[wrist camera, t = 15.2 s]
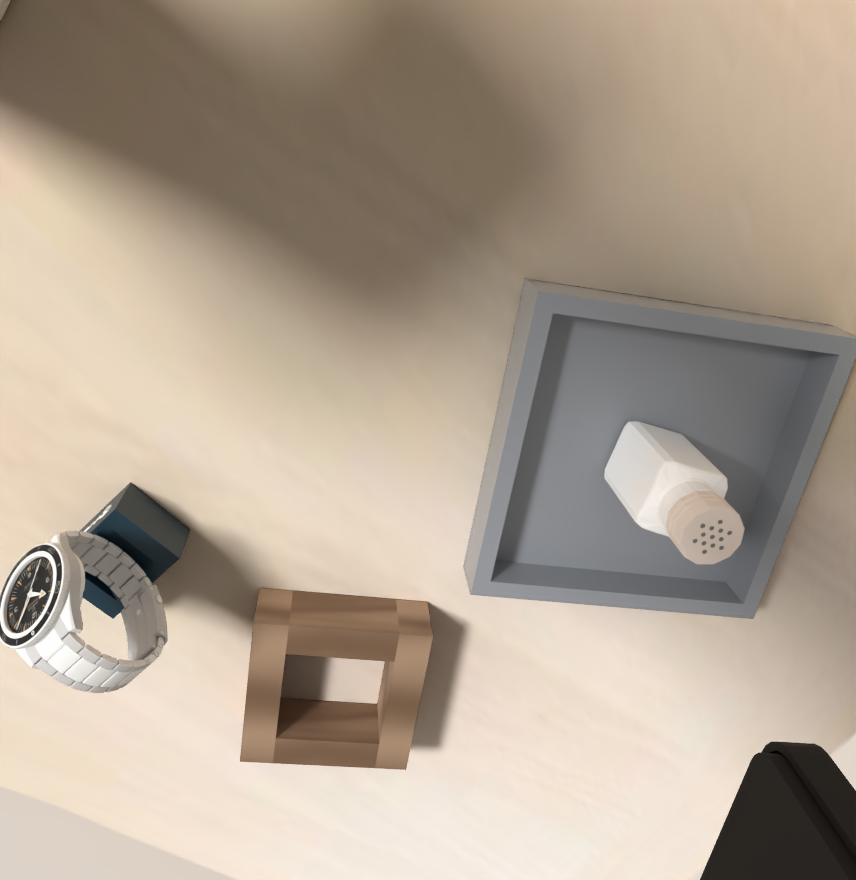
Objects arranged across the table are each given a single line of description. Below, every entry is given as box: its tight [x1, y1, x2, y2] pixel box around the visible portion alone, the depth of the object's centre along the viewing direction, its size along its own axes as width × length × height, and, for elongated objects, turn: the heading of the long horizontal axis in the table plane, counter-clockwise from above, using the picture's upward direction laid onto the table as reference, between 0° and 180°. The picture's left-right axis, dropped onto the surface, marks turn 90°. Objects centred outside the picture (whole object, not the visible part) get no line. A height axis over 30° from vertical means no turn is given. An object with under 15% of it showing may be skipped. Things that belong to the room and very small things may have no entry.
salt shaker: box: [604, 421, 745, 564], centre depth 41 cm, size 4×4×10 cm
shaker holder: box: [240, 588, 433, 770], centre depth 48 cm, size 10×10×4 cm
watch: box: [0, 483, 190, 693], centre depth 39 cm, size 6×8×11 cm
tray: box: [463, 279, 856, 619], centre depth 44 cm, size 18×18×3 cm
